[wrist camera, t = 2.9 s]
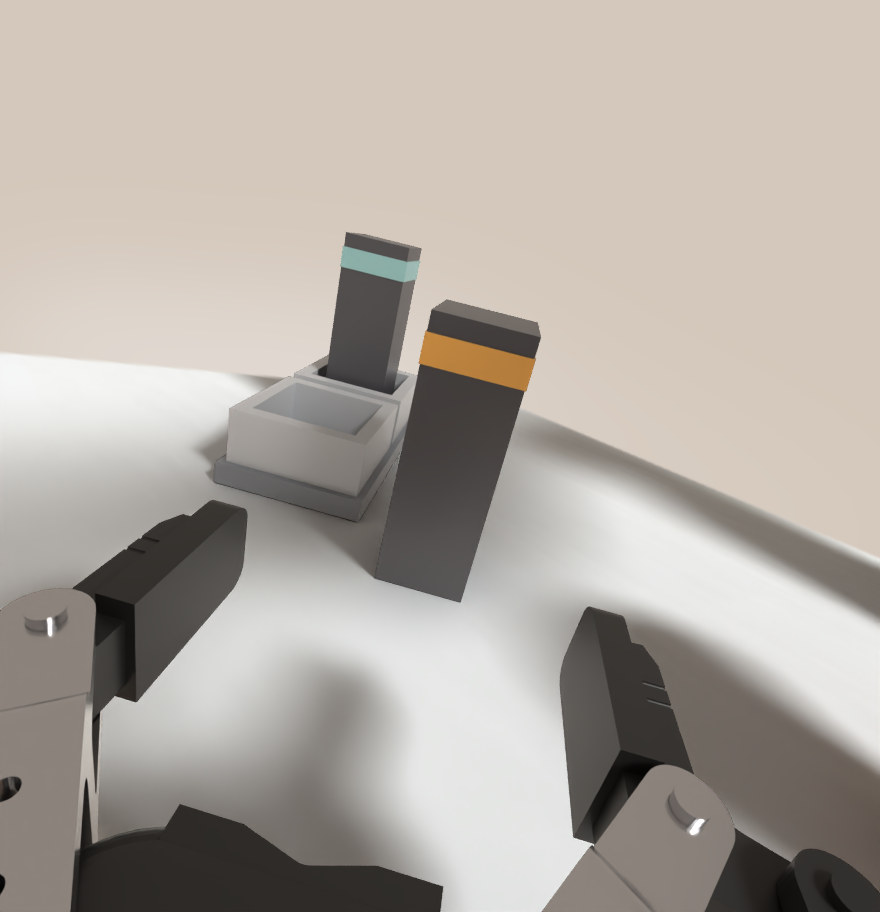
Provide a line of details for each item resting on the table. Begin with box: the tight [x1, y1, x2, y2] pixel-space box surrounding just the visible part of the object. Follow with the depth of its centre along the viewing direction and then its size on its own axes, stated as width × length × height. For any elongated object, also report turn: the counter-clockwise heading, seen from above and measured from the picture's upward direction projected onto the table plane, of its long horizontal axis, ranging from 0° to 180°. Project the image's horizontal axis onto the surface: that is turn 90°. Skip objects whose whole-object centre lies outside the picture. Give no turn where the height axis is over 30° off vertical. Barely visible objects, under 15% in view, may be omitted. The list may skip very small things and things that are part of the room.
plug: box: [375, 300, 541, 602], centre depth 22 cm, size 4×4×12 cm
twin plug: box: [326, 232, 421, 395], centre depth 35 cm, size 4×4×12 cm
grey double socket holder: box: [214, 355, 418, 522], centre depth 33 cm, size 8×16×4 cm, turn 171°
